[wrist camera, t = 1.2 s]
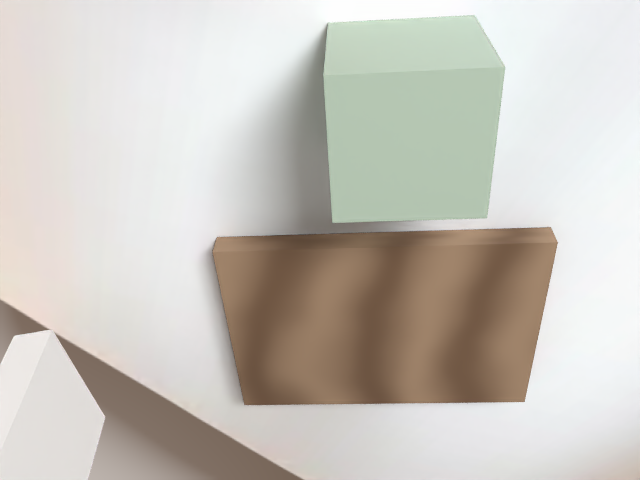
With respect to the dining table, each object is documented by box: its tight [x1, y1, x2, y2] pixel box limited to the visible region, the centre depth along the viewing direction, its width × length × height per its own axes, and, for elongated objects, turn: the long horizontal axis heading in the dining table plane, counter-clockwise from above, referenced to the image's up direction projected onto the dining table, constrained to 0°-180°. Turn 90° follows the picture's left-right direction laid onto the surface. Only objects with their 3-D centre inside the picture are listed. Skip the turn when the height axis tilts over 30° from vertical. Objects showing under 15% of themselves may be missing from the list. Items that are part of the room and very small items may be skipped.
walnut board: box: [213, 227, 558, 405], centre depth 40 cm, size 20×14×2 cm
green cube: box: [323, 15, 505, 223], centre depth 28 cm, size 7×7×7 cm
